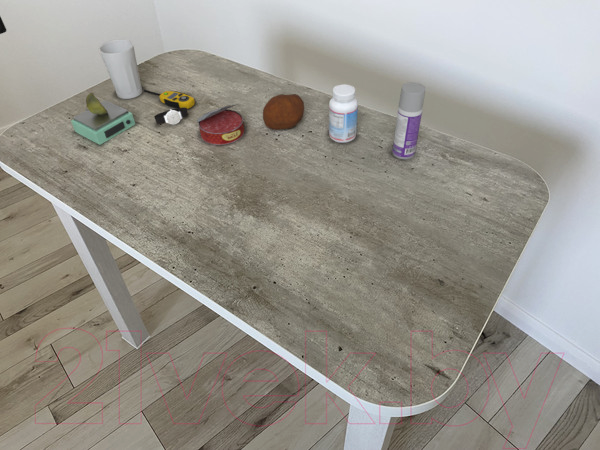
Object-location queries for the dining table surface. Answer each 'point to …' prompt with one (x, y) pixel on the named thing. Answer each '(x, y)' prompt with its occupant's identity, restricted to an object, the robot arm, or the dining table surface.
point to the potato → (283, 111)
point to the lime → (95, 105)
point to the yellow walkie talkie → (175, 99)
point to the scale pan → (101, 116)
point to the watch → (171, 116)
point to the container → (408, 120)
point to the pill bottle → (343, 114)
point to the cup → (122, 67)
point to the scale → (105, 129)
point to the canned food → (221, 126)
